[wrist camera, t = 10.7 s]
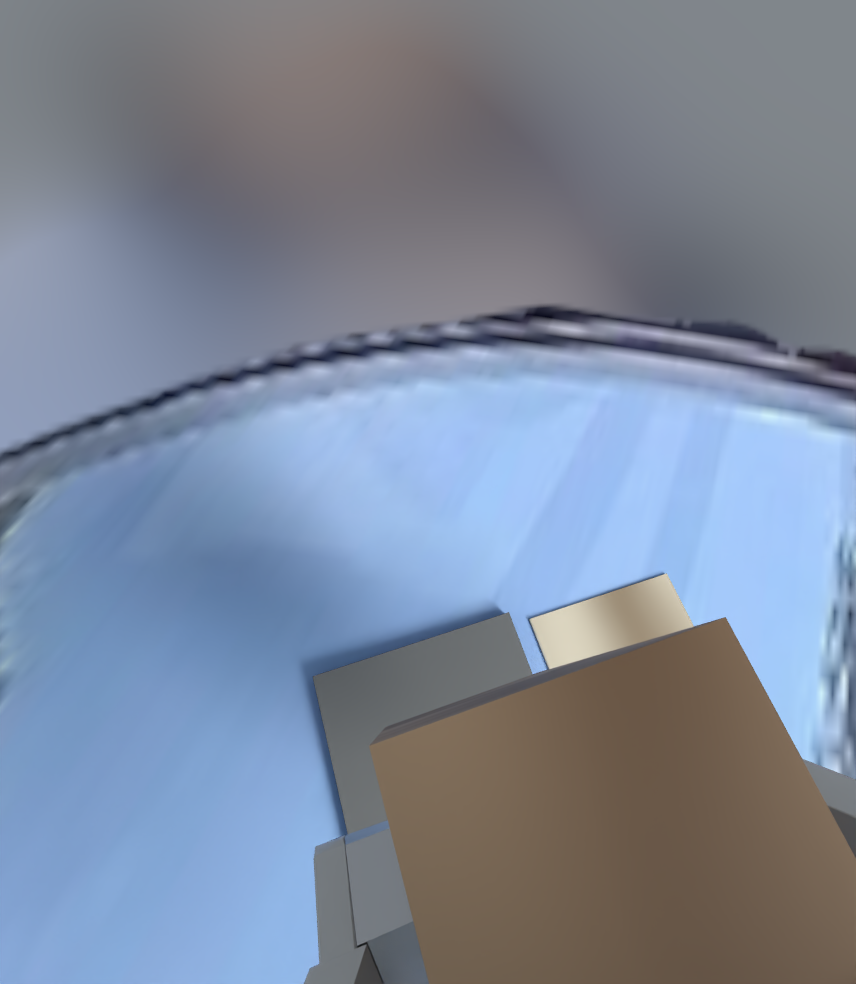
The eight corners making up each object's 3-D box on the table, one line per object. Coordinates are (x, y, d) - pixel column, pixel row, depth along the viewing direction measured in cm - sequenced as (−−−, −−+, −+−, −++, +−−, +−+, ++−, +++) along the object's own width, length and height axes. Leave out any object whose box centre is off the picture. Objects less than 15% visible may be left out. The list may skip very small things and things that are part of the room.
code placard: (616, 848, 20) (621, 851, 19) (527, 620, 23) (529, 618, 22) (767, 782, 21) (774, 783, 20) (662, 575, 24) (666, 573, 24)
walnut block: (439, 928, 12) (530, 1384, 4) (385, 726, 14) (369, 745, 6) (611, 854, 13) (985, 1099, 5) (540, 671, 15) (725, 617, 6)
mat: (381, 974, 17) (380, 982, 17) (314, 677, 21) (312, 676, 21) (605, 874, 19) (610, 878, 18) (506, 614, 23) (508, 612, 22)
